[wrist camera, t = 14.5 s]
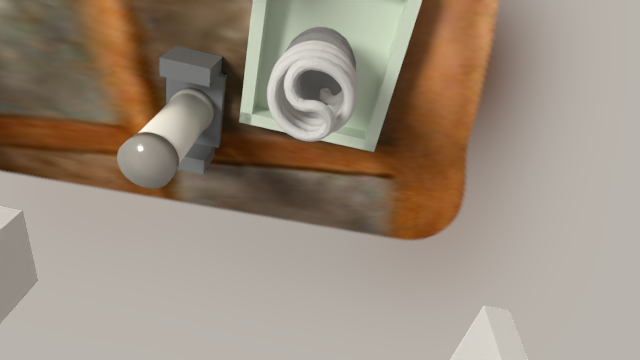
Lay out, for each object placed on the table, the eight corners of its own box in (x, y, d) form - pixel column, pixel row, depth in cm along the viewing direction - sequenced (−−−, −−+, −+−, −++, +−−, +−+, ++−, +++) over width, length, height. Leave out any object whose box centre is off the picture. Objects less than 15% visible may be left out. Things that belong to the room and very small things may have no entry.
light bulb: (369, 66, 35) (374, 128, 24) (310, 96, 36) (292, 165, 26) (337, 1, 32) (328, 40, 22) (275, 36, 34) (240, 88, 24)
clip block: (169, 146, 41) (154, 164, 38) (174, -223, 27) (150, -240, 24) (219, 157, 41) (208, 175, 38) (251, -203, 27) (238, -217, 24)
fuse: (171, 122, 39) (118, 181, 30) (172, 83, 37) (115, 134, 28) (213, 132, 39) (172, 193, 30) (216, 93, 37) (173, 146, 28)
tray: (245, 110, 38) (239, 122, 36) (266, -63, 31) (259, -61, 29) (373, 139, 39) (373, 152, 37) (423, -24, 31) (428, -20, 29)
